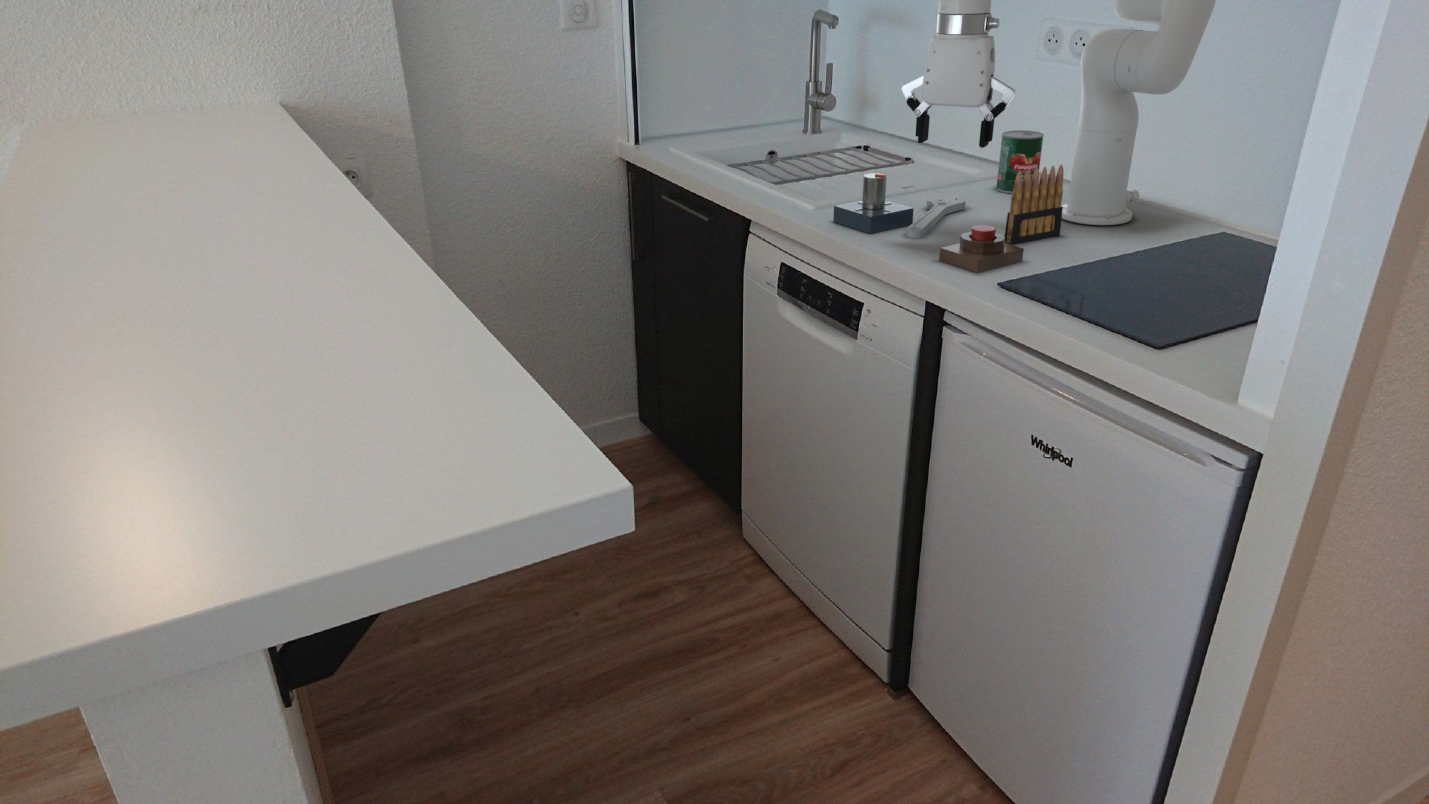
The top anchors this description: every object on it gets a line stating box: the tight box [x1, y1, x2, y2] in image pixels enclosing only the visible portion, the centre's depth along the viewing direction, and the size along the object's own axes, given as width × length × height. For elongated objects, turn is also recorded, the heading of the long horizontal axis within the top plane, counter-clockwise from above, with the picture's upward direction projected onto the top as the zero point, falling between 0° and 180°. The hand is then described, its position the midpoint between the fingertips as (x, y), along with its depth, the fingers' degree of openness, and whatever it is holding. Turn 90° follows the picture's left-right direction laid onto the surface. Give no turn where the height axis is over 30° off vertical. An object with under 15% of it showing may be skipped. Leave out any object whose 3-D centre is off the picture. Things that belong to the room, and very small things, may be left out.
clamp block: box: [833, 199, 915, 235], centre depth 170 cm, size 10×10×3 cm
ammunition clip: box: [1003, 164, 1064, 246], centre depth 157 cm, size 11×2×12 cm, turn 116°
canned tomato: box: [995, 129, 1045, 195], centre depth 190 cm, size 8×8×11 cm
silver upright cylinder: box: [861, 172, 888, 209], centre depth 169 cm, size 4×4×6 cm
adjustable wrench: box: [906, 196, 966, 239], centre depth 172 cm, size 25×6×2 cm, turn 148°
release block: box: [938, 231, 1025, 274], centre depth 148 cm, size 10×8×4 cm
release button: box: [970, 224, 997, 241], centre depth 147 cm, size 4×4×2 cm
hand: (952, 143), depth 148 cm, fingers open, 9 cm apart
